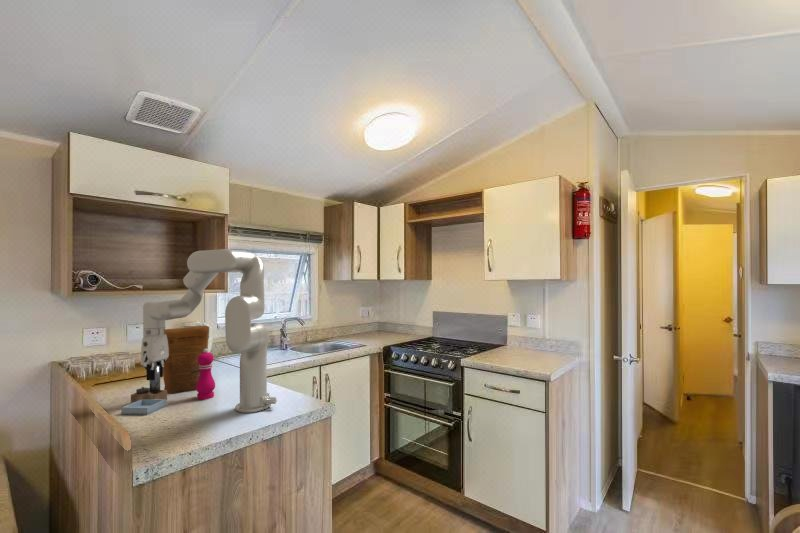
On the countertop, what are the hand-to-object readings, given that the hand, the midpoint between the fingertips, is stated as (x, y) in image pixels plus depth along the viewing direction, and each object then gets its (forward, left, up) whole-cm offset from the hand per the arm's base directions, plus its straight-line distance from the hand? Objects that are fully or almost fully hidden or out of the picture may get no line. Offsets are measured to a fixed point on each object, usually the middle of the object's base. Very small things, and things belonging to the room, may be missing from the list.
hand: (154, 378), depth 155 cm
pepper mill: (-17, -8, -10) cm, 21 cm away
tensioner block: (+2, 0, -10) cm, 10 cm away
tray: (-3, +8, -10) cm, 13 cm away
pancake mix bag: (-2, -17, -10) cm, 19 cm away
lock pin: (0, 0, -5) cm, 5 cm away
